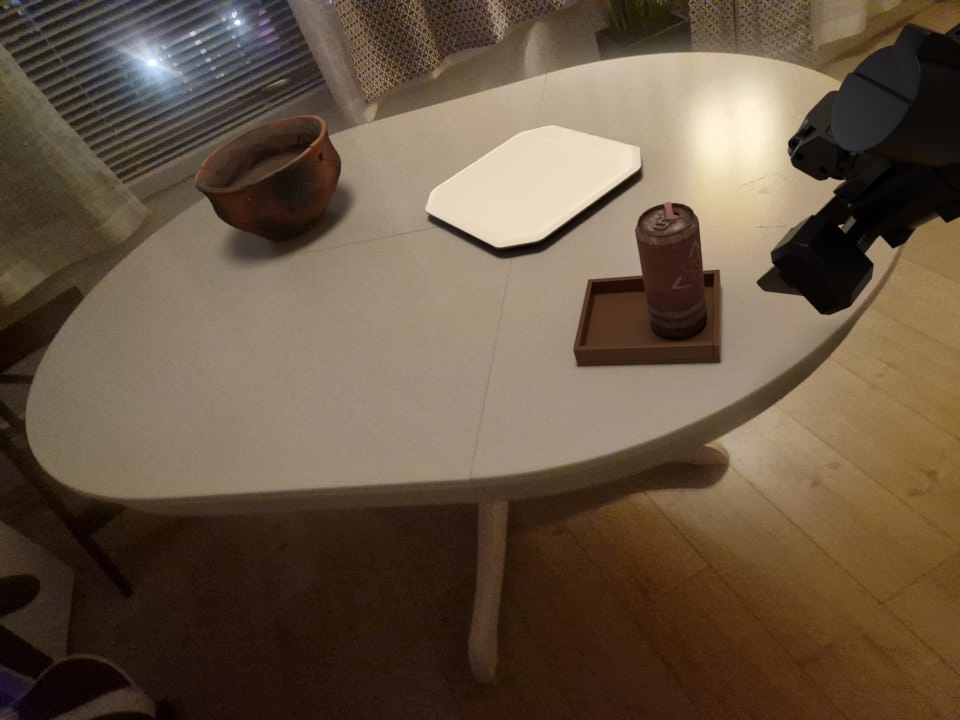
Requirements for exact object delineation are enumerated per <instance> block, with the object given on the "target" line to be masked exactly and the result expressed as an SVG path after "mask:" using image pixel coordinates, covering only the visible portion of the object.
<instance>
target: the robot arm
mask: <svg viewBox="0 0 960 720" xmlns="http://www.w3.org/2000/svg"><path fill="white" fill-rule="evenodd" d="M787 146H788V147H787V154H788V156H789V159H790V160H789V161H790V164H791V165H792V167H793V168H795V169H796V170H798V171H800V172H802V173H803V174H805V175H807V176H809V177H810V178H812V179H814V180H816V181H819V182H822V181H827V180H828V179H829V178H830V179H833V180H835V181H843V182H840V183H839V184H838V185H837V186H836V187H835V188H834V189H833V191H832V193H833V194H834V195H833V196H832V197H831V198H830V199H829V200H828V201H827V202H826V203H825V204H824V205H823V206H822V207H821V208H820V209H819V210H818V211H817V212H816V213H815V214H811V215H809V216H808V217H806V218H804V219H802V220H801V221H800V222H799V223H797V224H796V225H795V226H794V227H790V229H789V230H788V231H787V233H786V234H785V235H784V236H783V237H782V238H781V240H779V242H777V244H776V245H775V247H774V248H773V249H772V250H771V251H770V260H771V264H772V266H771V267H770V268H769V269H768V270H767V271H766V272H764V273H763V274H762V275H761V276H760V277H759V278H758V279H757V280H756V285H757V286H758V287H759V288H760V289H761V290H762V291H763V292H765V293H775V294H783V295H789V296H790V295H791V296H798V297H804V299H806V301H807V302H808V303H809V304H810V305H811V306H812V307H813V308H814V309H815V310H816V311H817V313H818V314H819V315H823V316H831V315H834V314H836V313H840V312H841V311H844V310H847V309H848V308H851V306H853V304H854V303H855V302H856V300H857V299H858V298H859V296H860V295H861V294H862V292H863V291H864V290H865V288H867V286H868V285H869V283H870V282H871V281H872V279H873V274H874V268H875V263H874V262H873V261H872V260H871V259H870V258H869V257H868V256H867V255H866V254H867V252H868V251H869V250H870V248H871V247H872V246H873V244H874V243H875V242H876V241H877V239H878V238H880V237H881V238H882V239H883V241H884V242H886V244H887V245H888V246H889V247H890V248H891V249H893V250H894V249H896V248H898V247H900V246H902V245H905V244H906V243H907V241H908V240H909V239H910V237H911V236H912V235H913V234H914V232H915V231H916V230H917V228H919V227H921V226H923V225H925V224H927V223H929V222H931V221H933V220H935V219H937V218H939V217H940V218H941V219H942V220H943V222H944V223H946V224H948V223H950V222H953V221H955V220H957V219H960V22H959V23H957V24H956V25H954V26H953V27H951V28H950V29H949V30H947V31H946V32H945V33H942V32H939V31H937V30H935V29H932V28H930V27H927V26H924V25H921V24H918V23H914V22H908V23H906V24H905V25H903V27H902V29H901V31H900V33H899V34H898V36H897V37H896V40H895V41H894V43H893V44H889V45H887V46H884V47H881V48H879V49H877V50H875V51H874V52H872V53H870V54H869V55H867V57H865V58H864V59H863V60H862V61H861V62H860V63H858V65H857V66H856V67H855V69H854V70H852V72H848V73H847V74H846V76H845V78H844V79H843V81H842V82H841V84H840V87H839V88H838V90H836V89H835V90H829V92H827V93H826V94H825V95H824V96H823V97H822V98H821V99H819V101H818V102H817V103H816V104H815V105H813V107H812V108H811V109H810V111H808V112H807V113H806V115H805V117H804V119H803V121H802V123H801V124H800V126H799V128H798V130H797V131H796V132H795V133H794V135H792V136H791V137H790V139H789V140H788V141H787Z"/></svg>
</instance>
